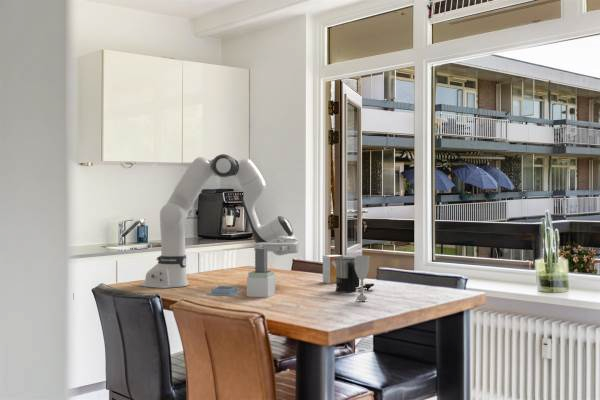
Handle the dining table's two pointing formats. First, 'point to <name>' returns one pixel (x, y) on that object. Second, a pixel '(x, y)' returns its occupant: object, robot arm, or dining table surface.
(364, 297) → the chalice
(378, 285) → the dining table surface
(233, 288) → the floor socket
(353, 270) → the milk frother
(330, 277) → the small box
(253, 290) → the block
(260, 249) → the plug block
